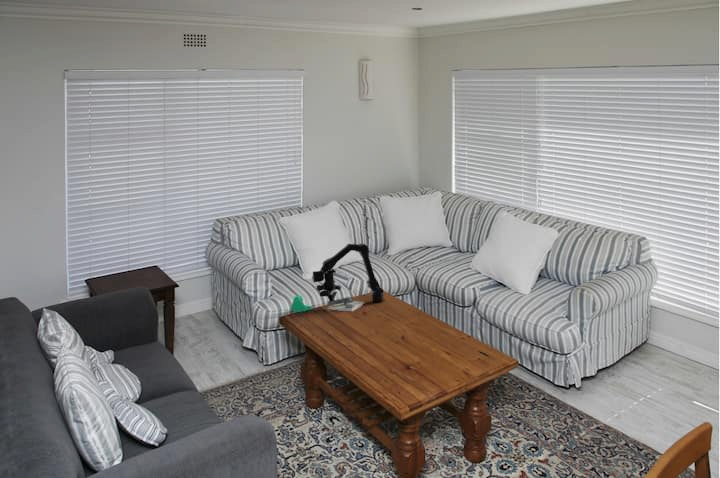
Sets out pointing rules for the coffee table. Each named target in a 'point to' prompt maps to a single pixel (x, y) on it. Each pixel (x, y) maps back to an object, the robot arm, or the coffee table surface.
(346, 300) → the footscrew knob
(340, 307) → the levelling board
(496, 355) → the coffee table surface
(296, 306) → the green irregular lump
